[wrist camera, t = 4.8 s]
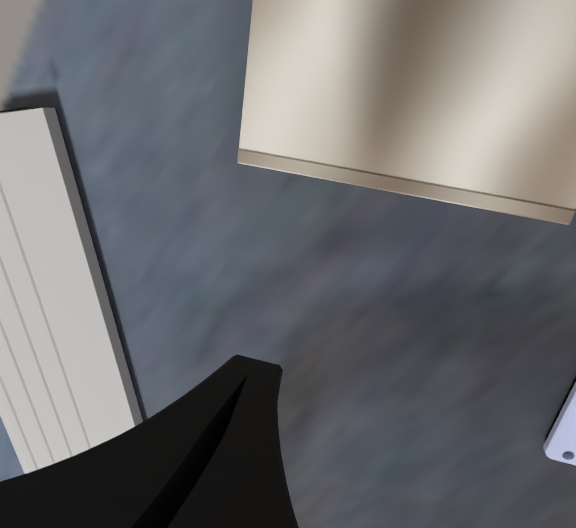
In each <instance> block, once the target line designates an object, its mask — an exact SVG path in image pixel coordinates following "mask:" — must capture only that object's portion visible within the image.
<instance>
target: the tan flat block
mask: <svg viewBox="0 0 576 528" xmlns="http://www.w3.org/2000/svg"><path fill="white" fill-rule="evenodd" d="M237 162H238V163H241V164H246V165H252V166H257V167H262V168H268V169H273V170H278V171H284V172H289V173H294V174H300V175H305V176H310V177H316V178H321V179H326V180H332V181H337V182H342V183H348V184H353V185H359V186H364V187H369V188H375V189H380V190H385V191H391V192H396V193H401V194H407V195H412V196H417V197H423V198H428V199H433V200H439V201H444V202H449V203H455V204H460V205H465V206H471V207H476V208H481V209H487V210H492V211H497V212H503V213H508V214H513V215H519V216H524V217H530V218H535V219H540V220H546V221H551V222H556V223H562V224H567V225H568V224H570V222H571V220H572V217H573V215H574V213H575V211H574V210H575V208H576V0H253V5H252V16H251V27H250V37H249V48H248V59H247V69H246V80H245V91H244V101H243V112H242V122H241V133H240V144H239V150H238V160H237Z"/></svg>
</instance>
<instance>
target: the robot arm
mask: <svg viewBox="0 0 576 528" xmlns="http://www.w3.org/2000/svg"><path fill="white" fill-rule="evenodd" d="M282 371H283V370H282V368H281V367H280V365H276V364H272V363H268V362H264V361H260V360H256V359H252V358H248V357H244V356H240V355H235V356H233V357H232V358H231V359H229V360H228V361H227V362H226V363H225V364H223V365H222V366H221V367H220V368H219V369H217V370H216V371H215V372H214V373H213V374H211V375H210V376H209V377H208V378H206V379H205V380H204V381H202V382H201V383H200V384H198V385H197V386H196V387H194V388H193V389H192V390H190V391H189V392H188V393H186V394H185V395H184V396H182V397H181V398H179V399H178V400H176V401H175V402H173V403H172V404H170V405H169V406H167V407H166V408H164V409H163V410H161V411H160V412H158V413H157V414H155V415H153V416H152V417H150V418H148V419H147V420H145V421H143V422H142V423H140V424H138V425H136V426H135V427H133V428H131V429H129V430H127V431H125V432H124V433H122V434H120V435H118V436H116V437H114V438H112V439H110V440H108V441H106V442H103V443H101V444H99V445H97V446H95V447H92V448H90V449H88V450H86V451H84V452H82V453H79V454H77V455H75V456H72V457H70V458H67V459H64V460H62V461H59V462H57V463H54V464H52V465H49V466H46V467H43V468H41V469H38V470H35V471H32V472H29V473H26V474H24V475H21V476H18V477H14V478H11V479H8V480H4V481H1V482H0V528H298V525H297V521H296V518H295V514H294V511H293V508H292V504H291V500H290V496H289V491H288V487H287V483H286V478H285V473H284V468H283V462H282V456H281V449H280V440H279V430H278V412H277V400H278V394H279V388H280V383H281V377H282ZM543 448H544V451H545V453H546V455H547V456H548V457H549V458H551V459H553V460H557V461H561V462H565V463H569V464H572V465H576V382H575V384H574V386H573V388H572V390H571V392H570V394H569V396H568V398H567V400H566V402H565V404H564V406H563V408H562V410H561V412H560V414H559V416H558V418H557V420H556V422H555V424H554V426H553V428H552V430H551V432H550V434H549V436H548V438H547V440H546V442H545V444H544V447H543ZM566 451H570V452H569V453H564V452H566Z"/></svg>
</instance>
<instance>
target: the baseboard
mask: <svg viewBox="0 0 576 528" xmlns="http://www.w3.org/2000/svg"><path fill="white" fill-rule="evenodd" d="M20 109H30V107H25V108H18V109H12V110H4V111H0V112H6V111H13V110H20ZM0 416H1V418H2V421H3V423H4V425H5V428H6V430H7V432H8V435H9V437H10V440H11V442H12V444H13V447H14V449H15V451H16V454H17V456H18V459H19V461H20V463H21V466H22V468H23V470H24V473H25V474H26V473H29V472H32V471H35V470H38V469H41V468H43V467H46V466H49V465H52V464H54V463H57V462H59V461H62V460H64V459H67V458H70V457H72V456H75V455H77V454H79V453H82V452H84V451H86V450H88V449H90V448H92V447H95V446H97V445H99V444H101V443H103V442H106V441H108V440H110V439H112V438H114V437H116V436H118V435H120V434H122V433H124V432H125V431H127V430H129V429H131V428H133V427H135V426H136V425H138V424H140V423H142V422H143V420H142V416H141V413H140V409H139V406H138V402H137V399H136V395H135V391H134V388H133V384H132V381H131V377H130V374H129V370H128V367H127V363H126V359H125V356H124V352H123V349H122V345H121V342H120V338H119V335H118V331H117V327H116V324H115V320H114V317H113V313H112V310H111V306H110V302H109V299H108V295H107V292H106V288H105V285H104V281H103V278H102V274H101V270H100V267H99V263H98V260H97V256H96V253H95V249H94V246H93V242H92V238H91V235H90V231H89V228H88V224H87V221H86V217H85V214H84V210H83V206H82V203H81V199H80V196H79V192H78V189H77V185H76V182H75V178H74V174H73V171H72V167H71V164H70V160H69V157H68V153H67V149H66V146H65V142H64V139H63V135H62V132H61V128H60V125H59V121H58V117H57V114H56V110H55V107H53V108H37V109H30V110H23V111H15V112H8V113H1V114H0Z"/></svg>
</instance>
